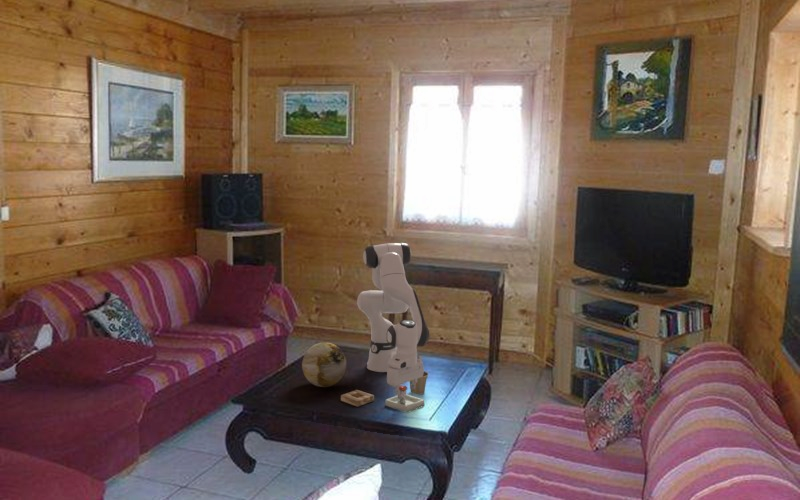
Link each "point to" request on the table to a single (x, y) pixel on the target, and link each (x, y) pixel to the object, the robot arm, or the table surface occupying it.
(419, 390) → the flower pot
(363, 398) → the block
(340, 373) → the decorative sphere
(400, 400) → the pin
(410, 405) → the tray
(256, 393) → the table surface
